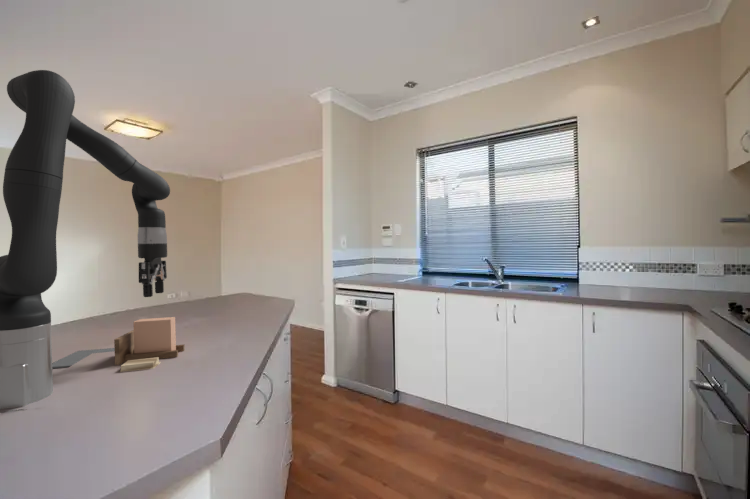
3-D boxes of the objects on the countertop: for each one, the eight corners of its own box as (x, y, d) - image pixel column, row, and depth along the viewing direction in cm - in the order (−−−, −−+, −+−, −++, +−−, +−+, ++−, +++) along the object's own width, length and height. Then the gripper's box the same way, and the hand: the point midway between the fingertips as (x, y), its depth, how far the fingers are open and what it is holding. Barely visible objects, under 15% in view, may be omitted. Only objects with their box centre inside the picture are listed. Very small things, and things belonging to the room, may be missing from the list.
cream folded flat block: (153, 373, 91) (153, 368, 91) (120, 377, 89) (119, 371, 89) (160, 367, 96) (160, 362, 96) (129, 370, 94) (129, 365, 94)
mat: (107, 363, 97) (107, 362, 97) (42, 369, 94) (41, 367, 94) (133, 347, 113) (133, 346, 113) (78, 352, 109) (78, 350, 109)
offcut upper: (153, 367, 91) (153, 362, 91) (120, 371, 89) (120, 365, 89) (158, 362, 96) (158, 357, 96) (128, 365, 93) (127, 360, 93)
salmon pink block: (171, 358, 101) (170, 319, 101) (134, 361, 99) (133, 321, 99) (176, 354, 105) (175, 316, 105) (140, 357, 103) (139, 319, 103)
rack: (174, 362, 98) (173, 335, 98) (115, 367, 94) (114, 339, 94) (187, 349, 110) (186, 325, 110) (134, 354, 106) (134, 329, 106)
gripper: (157, 242, 96) (158, 297, 96) (174, 242, 110) (175, 291, 110) (127, 242, 94) (128, 299, 94) (148, 243, 108) (150, 292, 108)
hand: (154, 294), depth 102 cm, fingers open, 8 cm apart
